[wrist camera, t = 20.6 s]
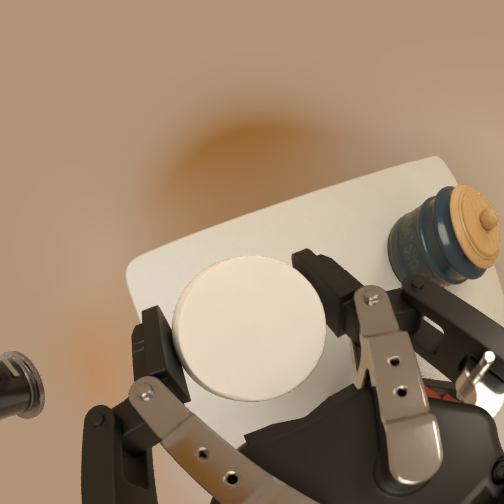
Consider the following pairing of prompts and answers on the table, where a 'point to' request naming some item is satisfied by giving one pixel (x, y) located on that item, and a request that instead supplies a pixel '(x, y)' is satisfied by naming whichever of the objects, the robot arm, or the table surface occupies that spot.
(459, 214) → the canister
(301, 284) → the pill bottle
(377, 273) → the table surface
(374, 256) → the table surface
